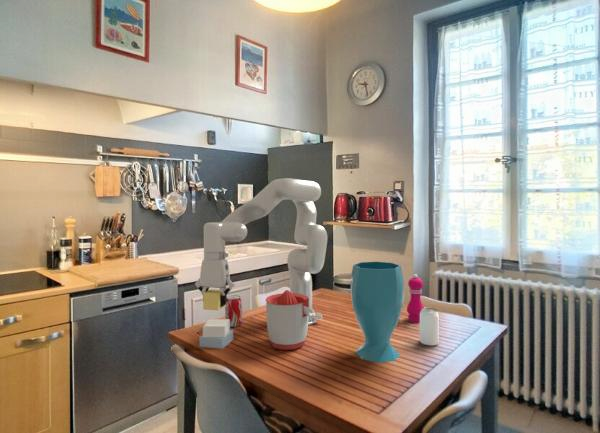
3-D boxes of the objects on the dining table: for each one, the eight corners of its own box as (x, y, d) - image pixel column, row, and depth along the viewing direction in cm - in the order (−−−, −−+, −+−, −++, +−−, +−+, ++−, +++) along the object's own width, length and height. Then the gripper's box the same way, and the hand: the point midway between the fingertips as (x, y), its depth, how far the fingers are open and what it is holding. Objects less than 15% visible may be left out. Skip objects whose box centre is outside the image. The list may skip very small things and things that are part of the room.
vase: (394, 368, 112) (394, 271, 111) (343, 356, 121) (342, 267, 120) (409, 349, 127) (409, 263, 126) (363, 339, 136) (362, 259, 135)
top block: (229, 329, 139) (229, 319, 139) (225, 337, 131) (224, 326, 131) (209, 329, 139) (208, 319, 139) (202, 337, 131) (202, 326, 131)
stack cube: (225, 306, 136) (225, 290, 136) (218, 310, 130) (218, 293, 130) (211, 304, 138) (211, 289, 138) (203, 309, 132) (203, 292, 132)
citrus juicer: (305, 356, 122) (304, 297, 121) (258, 350, 128) (257, 293, 127) (319, 339, 137) (318, 286, 136) (276, 334, 143) (276, 283, 142)
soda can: (238, 328, 151) (238, 299, 150) (222, 327, 152) (222, 298, 152) (244, 322, 158) (244, 295, 157) (229, 321, 159) (228, 294, 158)
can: (429, 347, 128) (429, 313, 128) (415, 341, 134) (415, 309, 133) (442, 343, 131) (442, 310, 131) (428, 338, 137) (428, 306, 136)
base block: (233, 340, 138) (233, 330, 138) (222, 349, 130) (222, 338, 130) (211, 338, 141) (211, 328, 141) (199, 347, 132) (199, 336, 132)
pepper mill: (406, 321, 155) (405, 275, 155) (407, 316, 162) (407, 272, 161) (423, 323, 153) (423, 276, 152) (424, 318, 159) (424, 273, 159)
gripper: (240, 255, 135) (240, 303, 136) (198, 254, 139) (198, 301, 140) (232, 258, 128) (232, 309, 128) (187, 256, 132) (188, 306, 132)
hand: (214, 304), depth 134 cm, fingers closed on stack cube, 6 cm apart
